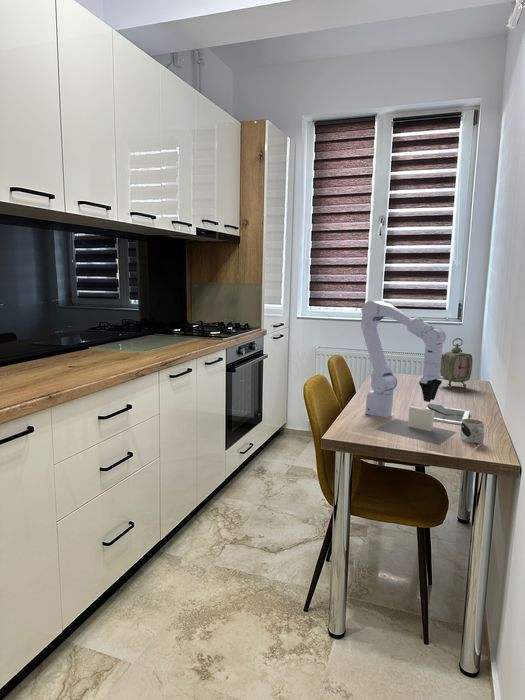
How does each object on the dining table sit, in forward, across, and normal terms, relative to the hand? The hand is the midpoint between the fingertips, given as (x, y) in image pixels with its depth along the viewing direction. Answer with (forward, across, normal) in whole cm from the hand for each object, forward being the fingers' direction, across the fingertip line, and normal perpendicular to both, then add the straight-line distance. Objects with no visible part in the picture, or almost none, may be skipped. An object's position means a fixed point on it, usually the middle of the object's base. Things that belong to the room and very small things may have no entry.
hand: (428, 400), depth 171 cm
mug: (+10, -8, -18) cm, 22 cm away
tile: (+9, -6, 0) cm, 11 cm away
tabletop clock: (+10, +78, +15) cm, 80 cm away
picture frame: (+10, +18, -1) cm, 20 cm away
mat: (+9, -10, 0) cm, 14 cm away
